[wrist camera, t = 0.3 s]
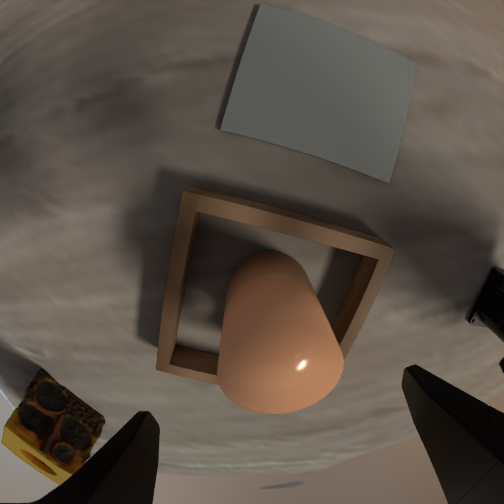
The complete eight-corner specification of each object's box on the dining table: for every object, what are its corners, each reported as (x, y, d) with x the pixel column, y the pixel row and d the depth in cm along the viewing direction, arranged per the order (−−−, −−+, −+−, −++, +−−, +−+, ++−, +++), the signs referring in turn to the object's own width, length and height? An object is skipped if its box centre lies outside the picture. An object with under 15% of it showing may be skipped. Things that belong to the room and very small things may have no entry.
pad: (414, 65, 15) (416, 64, 15) (386, 183, 18) (389, 183, 18) (260, 6, 14) (260, 3, 14) (220, 130, 17) (220, 130, 17)
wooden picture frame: (380, 238, 20) (395, 249, 17) (315, 379, 24) (321, 398, 22) (191, 185, 18) (182, 190, 16) (162, 350, 23) (155, 369, 20)
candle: (41, 365, 24) (2, 423, 15) (108, 417, 27) (84, 481, 17) (27, 394, 26) (-3, 441, 17) (83, 436, 29) (62, 487, 20)
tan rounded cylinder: (319, 262, 20) (364, 335, 12) (285, 349, 23) (301, 436, 14) (238, 242, 20) (233, 310, 11) (214, 335, 22) (201, 424, 14)
